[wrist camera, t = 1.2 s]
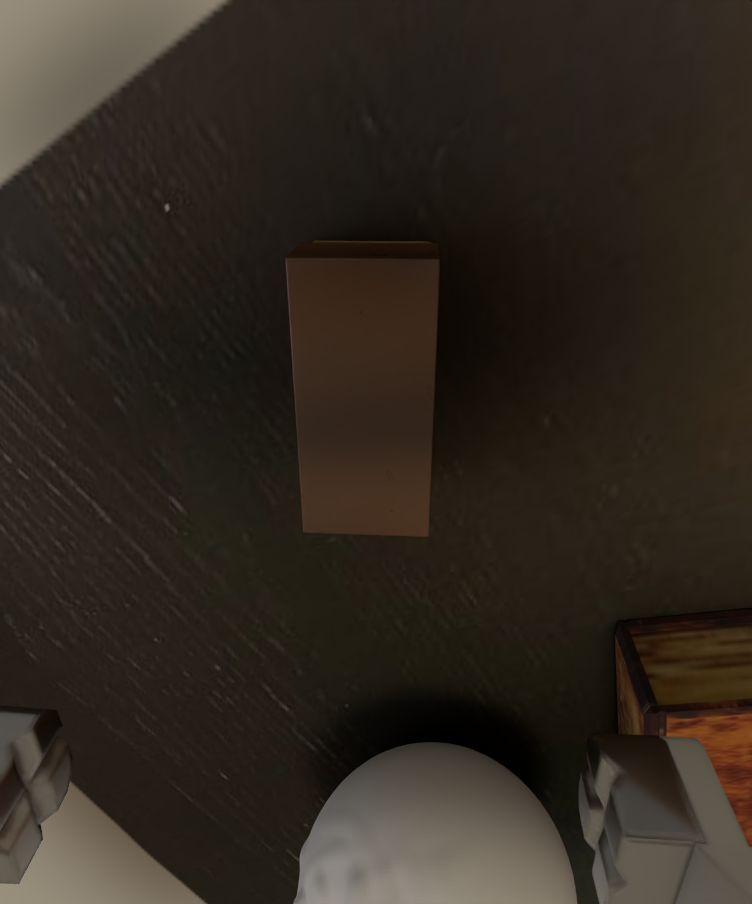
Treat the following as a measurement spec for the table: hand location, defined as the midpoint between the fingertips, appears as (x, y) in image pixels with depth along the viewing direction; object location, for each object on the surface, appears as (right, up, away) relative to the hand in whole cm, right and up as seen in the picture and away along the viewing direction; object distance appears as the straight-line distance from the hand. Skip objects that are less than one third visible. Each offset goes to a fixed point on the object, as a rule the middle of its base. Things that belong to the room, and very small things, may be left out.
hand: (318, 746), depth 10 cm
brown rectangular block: (+1, +8, +14) cm, 16 cm away
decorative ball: (+4, -12, +24) cm, 27 cm away
